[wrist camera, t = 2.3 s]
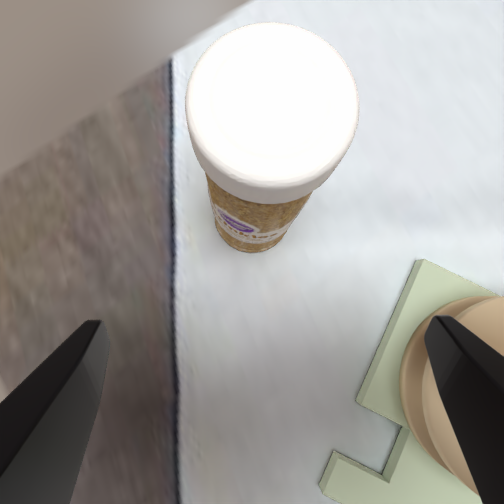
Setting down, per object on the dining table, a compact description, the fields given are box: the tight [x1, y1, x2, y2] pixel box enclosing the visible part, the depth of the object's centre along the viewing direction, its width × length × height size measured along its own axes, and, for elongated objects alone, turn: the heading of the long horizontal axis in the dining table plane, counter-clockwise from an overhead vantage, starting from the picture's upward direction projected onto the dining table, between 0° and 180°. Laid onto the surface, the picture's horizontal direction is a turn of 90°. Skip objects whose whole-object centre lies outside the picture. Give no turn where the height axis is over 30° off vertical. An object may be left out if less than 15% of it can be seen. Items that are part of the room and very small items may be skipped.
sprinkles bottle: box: [185, 22, 359, 252], centre depth 16 cm, size 5×5×13 cm
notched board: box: [319, 259, 501, 504], centre depth 21 cm, size 14×12×1 cm
